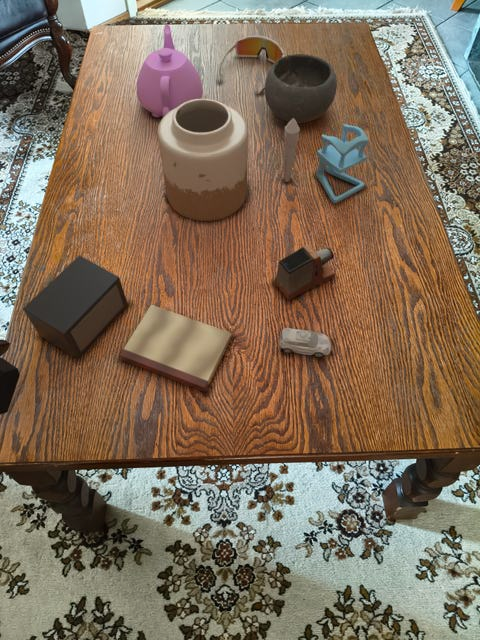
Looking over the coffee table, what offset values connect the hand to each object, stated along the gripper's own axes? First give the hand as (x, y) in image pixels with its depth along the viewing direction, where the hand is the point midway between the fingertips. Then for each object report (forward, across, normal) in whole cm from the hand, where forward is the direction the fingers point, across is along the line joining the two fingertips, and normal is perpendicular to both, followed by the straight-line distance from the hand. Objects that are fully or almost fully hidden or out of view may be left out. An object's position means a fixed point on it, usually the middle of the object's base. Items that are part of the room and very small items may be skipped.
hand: (7, 344), depth 67 cm
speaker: (+15, 0, -2) cm, 15 cm away
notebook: (+18, -15, -5) cm, 24 cm away
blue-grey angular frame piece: (+51, -19, -37) cm, 66 cm away
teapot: (+53, +24, -40) cm, 70 cm away
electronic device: (+33, -25, -20) cm, 47 cm away
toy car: (+26, -32, -13) cm, 43 cm away
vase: (+40, +1, -26) cm, 47 cm away
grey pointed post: (+47, -10, -34) cm, 59 cm away
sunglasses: (+67, +15, -54) cm, 87 cm away
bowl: (+61, -2, -48) cm, 78 cm away
